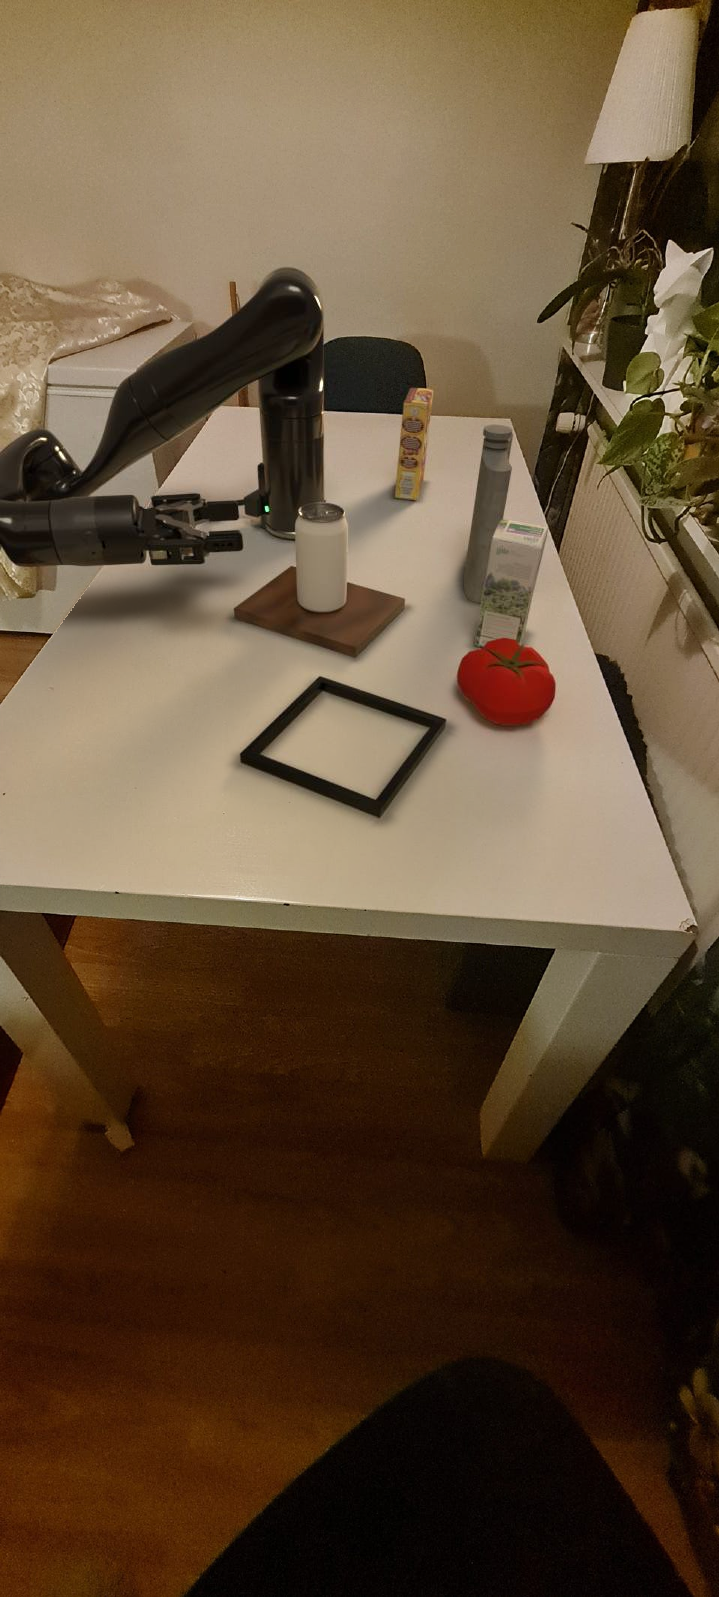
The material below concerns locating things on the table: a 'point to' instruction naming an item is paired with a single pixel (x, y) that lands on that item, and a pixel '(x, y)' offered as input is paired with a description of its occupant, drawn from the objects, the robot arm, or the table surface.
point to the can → (321, 557)
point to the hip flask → (487, 506)
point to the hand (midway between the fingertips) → (240, 524)
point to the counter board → (321, 615)
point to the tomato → (507, 682)
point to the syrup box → (510, 581)
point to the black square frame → (328, 788)
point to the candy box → (413, 443)
